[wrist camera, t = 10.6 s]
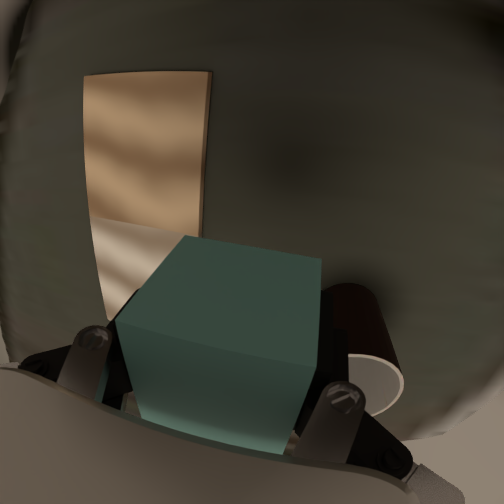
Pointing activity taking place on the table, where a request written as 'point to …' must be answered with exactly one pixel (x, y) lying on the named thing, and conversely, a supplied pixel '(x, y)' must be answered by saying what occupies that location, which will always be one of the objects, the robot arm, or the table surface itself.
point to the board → (143, 171)
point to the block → (224, 341)
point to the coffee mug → (367, 346)
